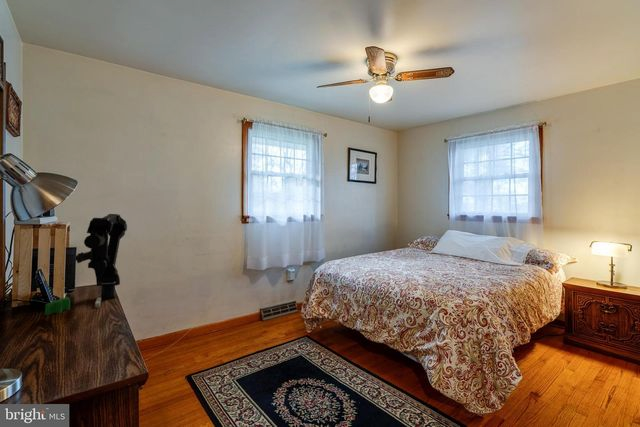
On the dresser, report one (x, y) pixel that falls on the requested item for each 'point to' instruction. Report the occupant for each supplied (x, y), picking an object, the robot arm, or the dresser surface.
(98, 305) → the slot rails
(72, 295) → the dresser surface
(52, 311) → the pipe clamp
